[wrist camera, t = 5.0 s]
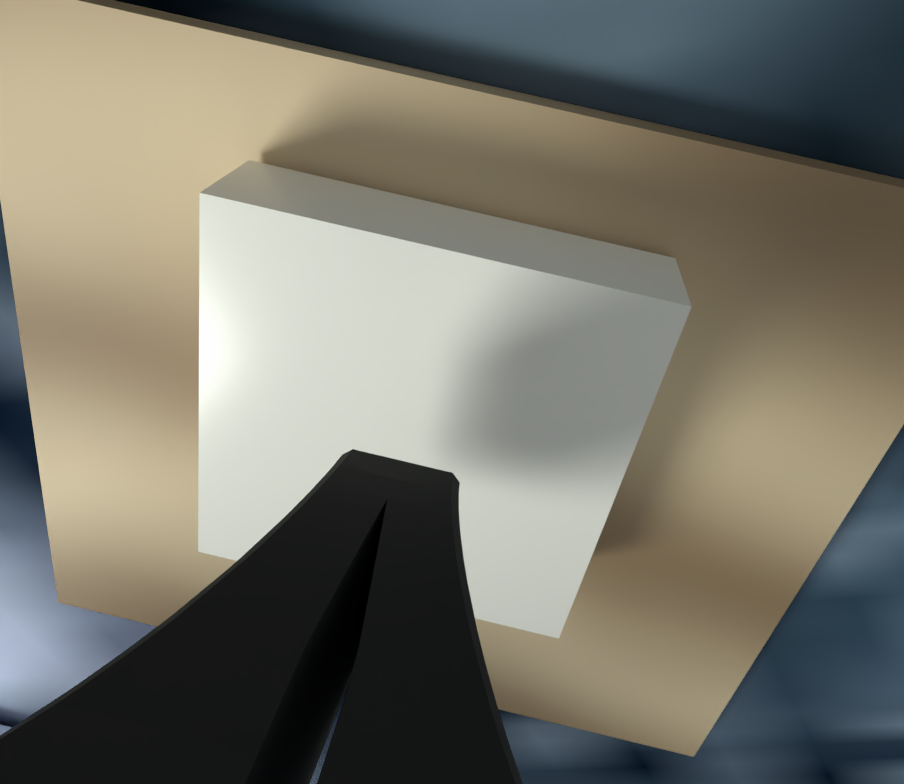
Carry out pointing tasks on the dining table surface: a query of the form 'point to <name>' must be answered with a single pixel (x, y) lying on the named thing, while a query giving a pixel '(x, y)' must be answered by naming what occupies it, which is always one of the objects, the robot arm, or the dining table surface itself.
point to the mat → (483, 191)
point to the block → (425, 370)
